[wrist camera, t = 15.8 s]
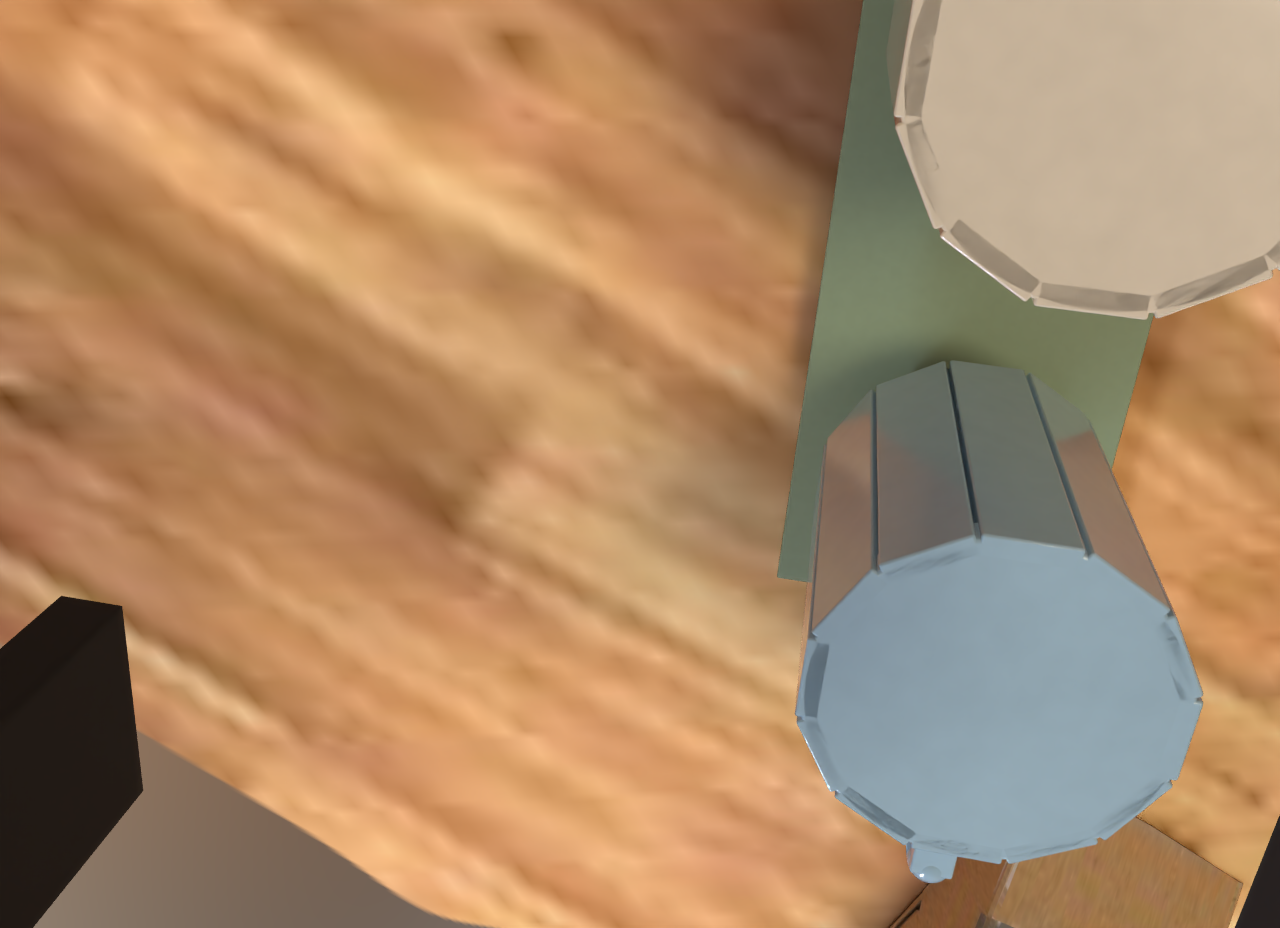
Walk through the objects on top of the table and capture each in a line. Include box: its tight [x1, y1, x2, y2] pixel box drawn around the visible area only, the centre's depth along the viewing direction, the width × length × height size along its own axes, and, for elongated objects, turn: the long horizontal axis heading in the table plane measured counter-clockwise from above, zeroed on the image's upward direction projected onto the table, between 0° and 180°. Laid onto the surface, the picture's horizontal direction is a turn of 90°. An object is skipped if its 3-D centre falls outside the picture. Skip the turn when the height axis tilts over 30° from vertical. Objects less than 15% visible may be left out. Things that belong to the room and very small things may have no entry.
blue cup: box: [795, 360, 1203, 883], centre depth 29 cm, size 8×10×10 cm
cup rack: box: [777, 0, 1154, 582], centre depth 28 cm, size 9×22×14 cm, turn 175°
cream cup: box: [886, 0, 1280, 320], centre depth 23 cm, size 8×10×10 cm
